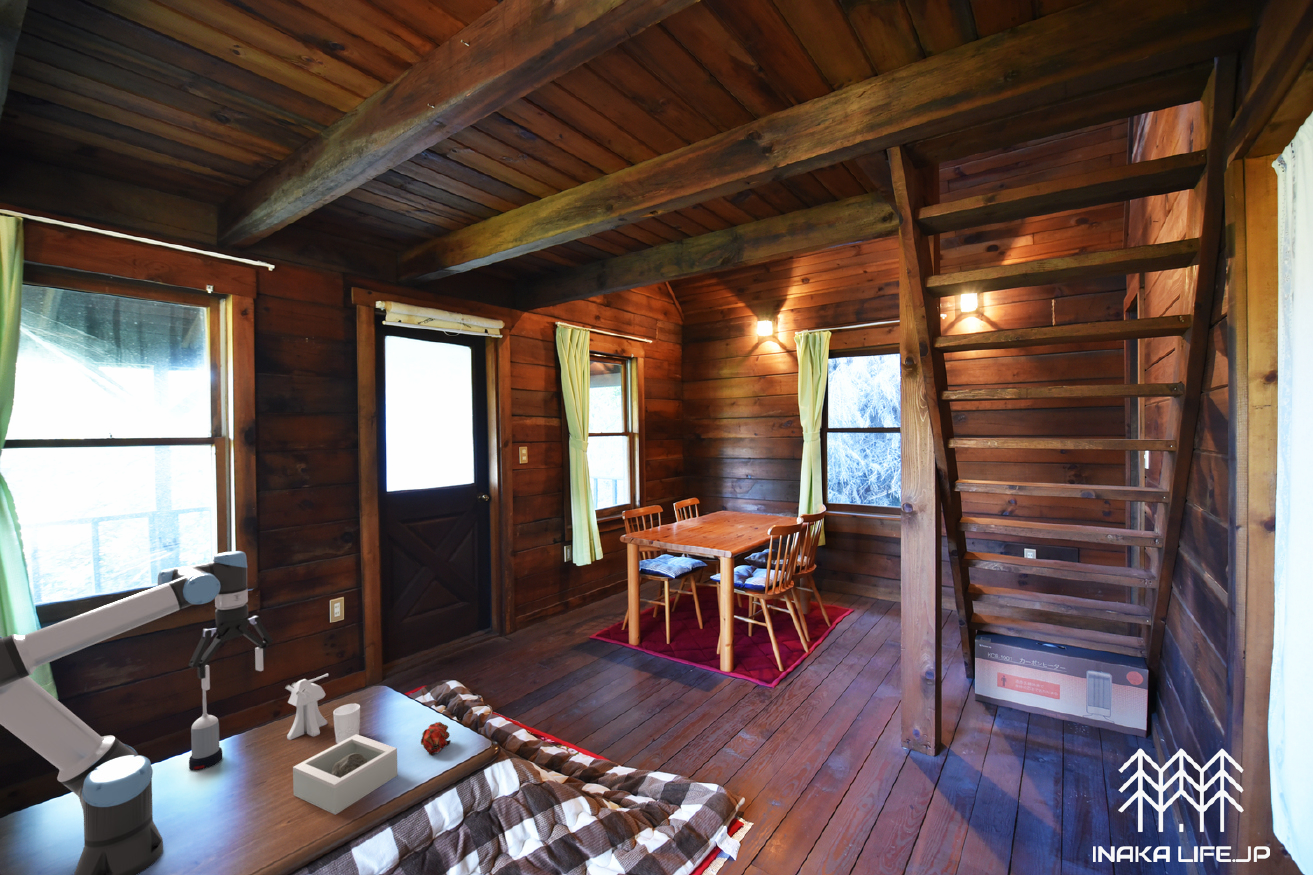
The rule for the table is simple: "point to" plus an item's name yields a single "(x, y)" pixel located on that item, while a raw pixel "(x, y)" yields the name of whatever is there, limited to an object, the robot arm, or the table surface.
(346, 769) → the fossil
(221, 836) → the table surface
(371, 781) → the box
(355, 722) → the white cup
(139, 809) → the robot arm
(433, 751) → the dragon fruit
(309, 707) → the toy gun turret
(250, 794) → the table surface
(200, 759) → the humidifier
